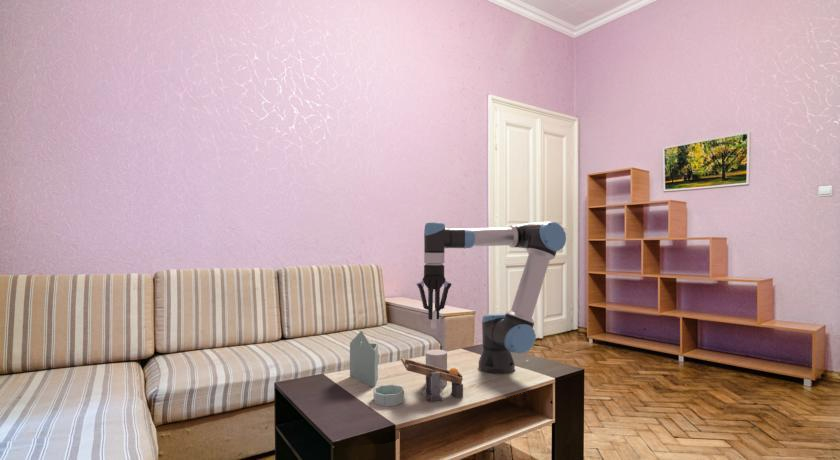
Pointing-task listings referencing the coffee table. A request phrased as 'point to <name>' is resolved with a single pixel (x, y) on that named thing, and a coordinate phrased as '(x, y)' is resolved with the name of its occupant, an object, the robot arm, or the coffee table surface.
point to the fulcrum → (433, 387)
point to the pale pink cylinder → (437, 361)
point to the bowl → (388, 395)
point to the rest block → (457, 390)
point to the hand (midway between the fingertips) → (433, 328)
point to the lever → (430, 370)
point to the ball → (454, 372)
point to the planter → (364, 360)
